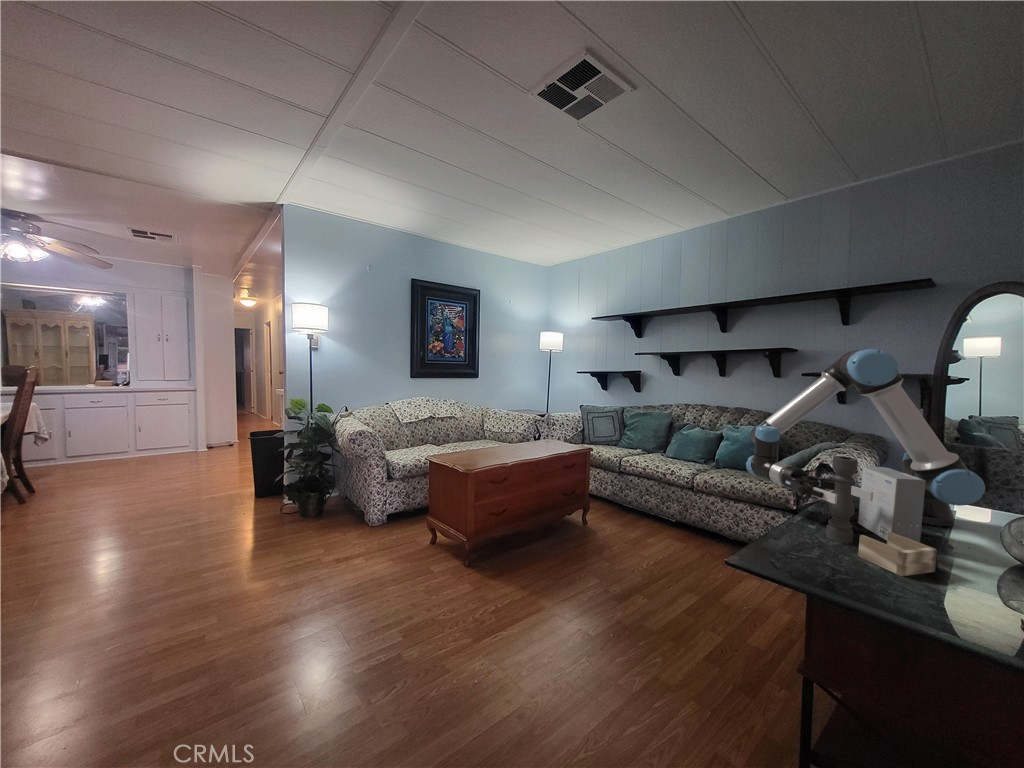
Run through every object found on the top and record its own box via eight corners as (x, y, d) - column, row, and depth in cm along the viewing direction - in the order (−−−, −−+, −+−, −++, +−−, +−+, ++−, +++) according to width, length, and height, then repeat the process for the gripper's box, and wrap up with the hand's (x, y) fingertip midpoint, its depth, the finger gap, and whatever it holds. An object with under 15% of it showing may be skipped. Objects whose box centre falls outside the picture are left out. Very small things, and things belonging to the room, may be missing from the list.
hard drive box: (921, 547, 115) (927, 480, 114) (890, 544, 117) (896, 478, 115) (882, 525, 130) (887, 466, 129) (856, 523, 132) (861, 464, 130)
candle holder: (827, 532, 124) (833, 454, 122) (853, 539, 119) (860, 458, 118) (824, 538, 119) (830, 457, 118) (851, 545, 115) (857, 462, 113)
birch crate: (889, 552, 111) (891, 532, 111) (934, 571, 101) (937, 549, 101) (858, 556, 109) (859, 535, 108) (901, 576, 99) (903, 553, 98)
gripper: (816, 485, 139) (885, 507, 118) (758, 488, 133) (819, 513, 113) (818, 464, 138) (887, 483, 118) (759, 467, 133) (821, 487, 112)
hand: (854, 497), depth 115 cm, fingers open, 13 cm apart
